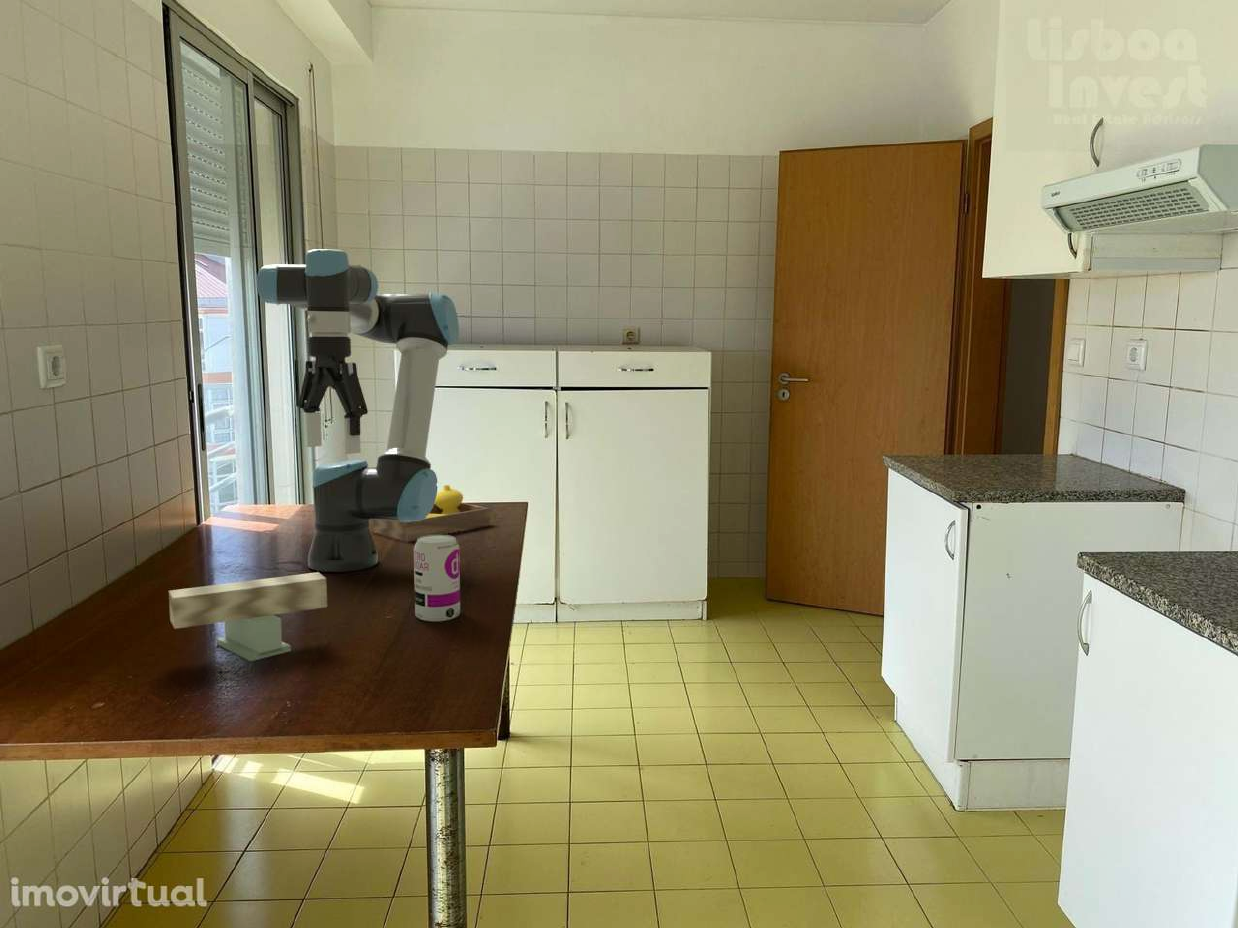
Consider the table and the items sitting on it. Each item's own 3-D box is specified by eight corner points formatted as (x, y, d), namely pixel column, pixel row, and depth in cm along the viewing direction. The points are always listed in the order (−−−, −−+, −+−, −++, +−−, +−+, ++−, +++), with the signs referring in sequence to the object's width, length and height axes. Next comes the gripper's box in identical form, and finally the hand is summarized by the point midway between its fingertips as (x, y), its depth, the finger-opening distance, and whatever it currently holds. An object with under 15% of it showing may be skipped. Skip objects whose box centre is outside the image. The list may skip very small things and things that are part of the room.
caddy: (371, 536, 248) (370, 513, 247) (452, 521, 267) (452, 500, 266) (407, 546, 237) (406, 522, 236) (489, 530, 256) (489, 508, 255)
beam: (174, 628, 152) (172, 598, 152) (170, 620, 157) (168, 590, 156) (327, 606, 165) (326, 578, 164) (319, 599, 169) (318, 572, 169)
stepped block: (217, 644, 163) (215, 610, 163) (256, 634, 168) (254, 601, 168) (250, 661, 155) (248, 625, 154) (290, 650, 160) (289, 616, 160)
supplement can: (467, 613, 182) (466, 536, 180) (446, 625, 175) (444, 545, 172) (429, 609, 185) (428, 532, 183) (407, 621, 177) (405, 541, 175)
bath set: (423, 542, 245) (416, 501, 243) (395, 540, 251) (388, 500, 249) (476, 521, 261) (470, 482, 259) (449, 519, 267) (443, 482, 265)
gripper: (277, 334, 183) (281, 445, 186) (348, 336, 166) (351, 458, 169) (313, 334, 188) (316, 442, 191) (385, 336, 172) (388, 454, 175)
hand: (333, 449), depth 180 cm, fingers open, 13 cm apart
